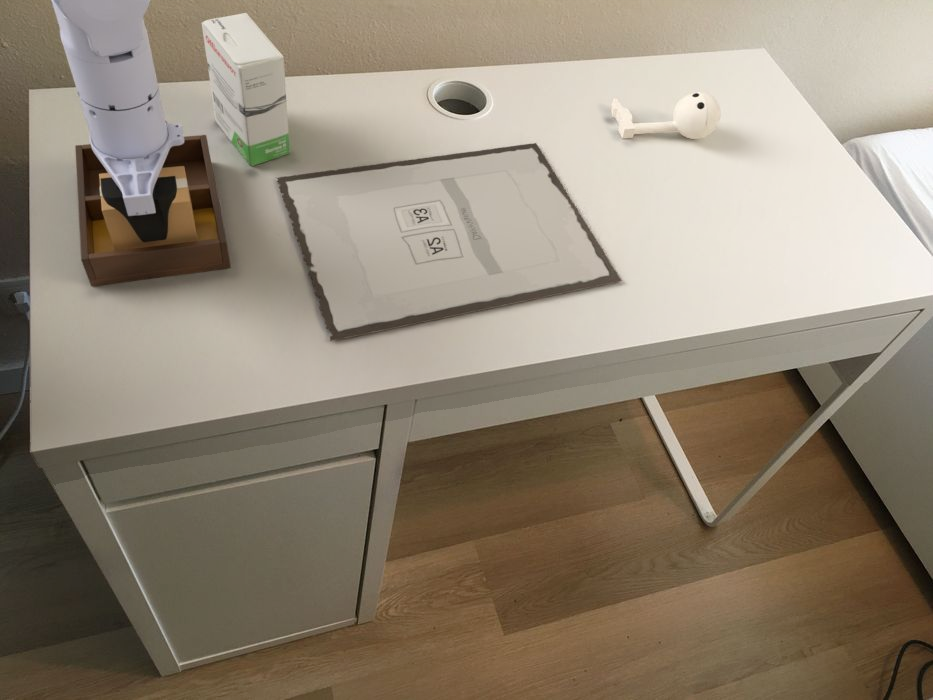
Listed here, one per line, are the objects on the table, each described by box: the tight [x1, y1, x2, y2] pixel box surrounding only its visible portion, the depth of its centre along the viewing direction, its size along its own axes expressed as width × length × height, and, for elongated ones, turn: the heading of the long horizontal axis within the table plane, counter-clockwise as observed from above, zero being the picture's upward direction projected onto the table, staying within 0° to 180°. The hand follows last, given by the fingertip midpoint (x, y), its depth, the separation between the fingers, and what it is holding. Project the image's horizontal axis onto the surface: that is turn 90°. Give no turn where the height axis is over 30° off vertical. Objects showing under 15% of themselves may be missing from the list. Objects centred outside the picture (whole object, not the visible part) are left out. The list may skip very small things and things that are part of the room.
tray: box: [74, 134, 232, 287], centre depth 72 cm, size 12×15×4 cm
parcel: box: [99, 166, 198, 251], centre depth 68 cm, size 7×5×5 cm, turn 108°
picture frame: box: [276, 142, 623, 342], centre depth 78 cm, size 22×1×30 cm
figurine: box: [610, 91, 721, 140], centre depth 92 cm, size 8×6×12 cm
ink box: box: [201, 12, 291, 167], centre depth 77 cm, size 9×5×12 cm, turn 35°
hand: (151, 217), depth 68 cm, fingers closed on parcel, 4 cm apart
